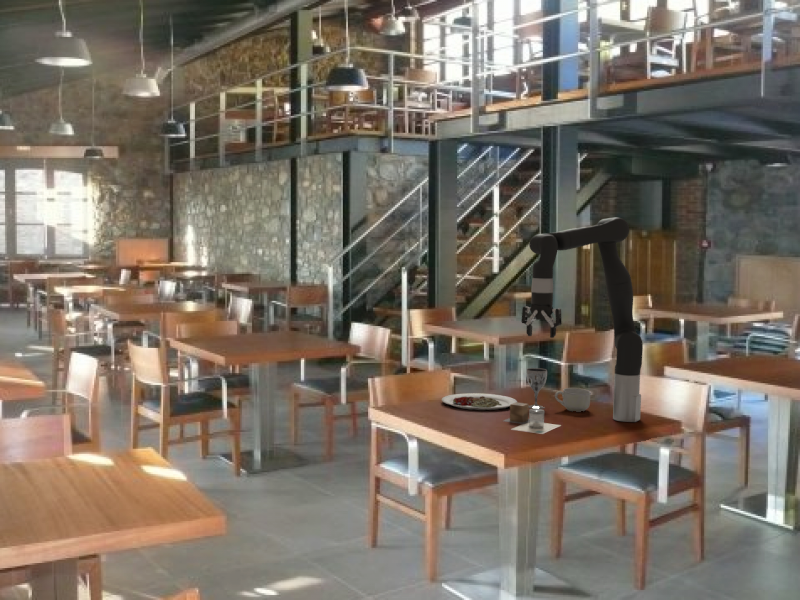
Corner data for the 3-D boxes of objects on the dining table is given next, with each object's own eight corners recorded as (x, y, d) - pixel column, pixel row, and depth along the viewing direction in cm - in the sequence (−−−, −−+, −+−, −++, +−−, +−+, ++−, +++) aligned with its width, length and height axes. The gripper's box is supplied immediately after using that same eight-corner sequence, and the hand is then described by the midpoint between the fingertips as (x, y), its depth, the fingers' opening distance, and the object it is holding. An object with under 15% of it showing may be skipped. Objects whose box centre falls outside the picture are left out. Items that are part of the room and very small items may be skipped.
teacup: (588, 408, 360) (589, 388, 359) (591, 413, 349) (592, 393, 348) (553, 407, 361) (553, 387, 360) (555, 412, 350) (555, 391, 350)
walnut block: (528, 420, 333) (528, 403, 332) (522, 422, 329) (522, 406, 328) (515, 418, 336) (516, 402, 335) (509, 420, 331) (510, 404, 331)
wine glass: (547, 409, 356) (548, 371, 355) (526, 408, 356) (527, 370, 355) (544, 405, 364) (545, 368, 363) (524, 405, 364) (525, 367, 363)
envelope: (561, 426, 325) (561, 425, 325) (542, 435, 311) (542, 433, 311) (530, 422, 331) (530, 421, 331) (510, 430, 317) (510, 429, 317)
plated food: (532, 408, 359) (532, 399, 358) (469, 414, 344) (469, 406, 344) (488, 395, 385) (488, 387, 384) (427, 401, 370) (427, 393, 370)
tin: (546, 426, 322) (546, 410, 321) (540, 429, 317) (540, 412, 317) (532, 424, 325) (532, 408, 324) (526, 427, 320) (526, 410, 320)
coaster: (535, 420, 334) (535, 419, 334) (524, 425, 326) (525, 424, 326) (512, 417, 338) (512, 416, 338) (502, 422, 331) (502, 420, 331)
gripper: (565, 291, 321) (563, 337, 322) (528, 289, 328) (526, 334, 329) (557, 292, 314) (555, 339, 315) (519, 290, 322) (518, 336, 323)
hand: (540, 336), depth 322 cm, fingers open, 8 cm apart
